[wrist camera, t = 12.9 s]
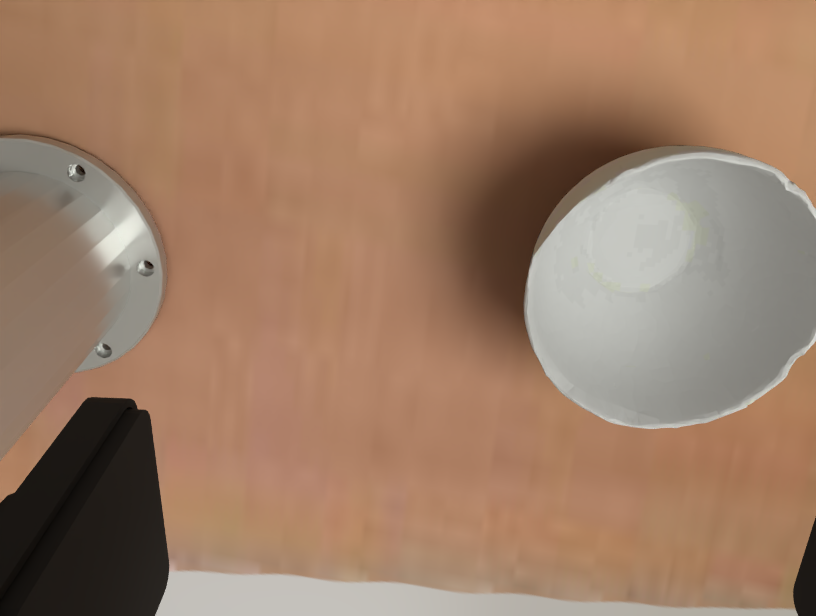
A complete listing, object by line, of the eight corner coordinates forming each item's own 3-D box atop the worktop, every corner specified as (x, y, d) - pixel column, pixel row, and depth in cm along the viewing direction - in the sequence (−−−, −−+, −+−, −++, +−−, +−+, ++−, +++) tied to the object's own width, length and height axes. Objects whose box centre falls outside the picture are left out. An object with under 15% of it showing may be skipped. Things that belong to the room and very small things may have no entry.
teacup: (493, 340, 41) (507, 424, 34) (522, 103, 36) (547, 141, 29) (772, 359, 41) (846, 446, 34) (843, 125, 36) (947, 169, 29)
